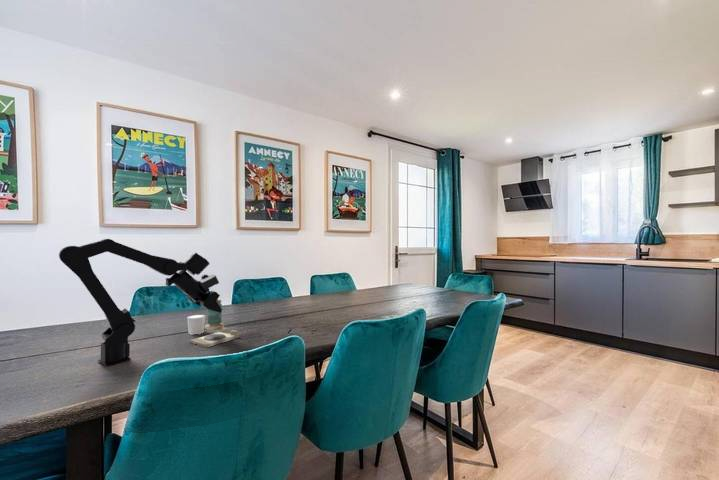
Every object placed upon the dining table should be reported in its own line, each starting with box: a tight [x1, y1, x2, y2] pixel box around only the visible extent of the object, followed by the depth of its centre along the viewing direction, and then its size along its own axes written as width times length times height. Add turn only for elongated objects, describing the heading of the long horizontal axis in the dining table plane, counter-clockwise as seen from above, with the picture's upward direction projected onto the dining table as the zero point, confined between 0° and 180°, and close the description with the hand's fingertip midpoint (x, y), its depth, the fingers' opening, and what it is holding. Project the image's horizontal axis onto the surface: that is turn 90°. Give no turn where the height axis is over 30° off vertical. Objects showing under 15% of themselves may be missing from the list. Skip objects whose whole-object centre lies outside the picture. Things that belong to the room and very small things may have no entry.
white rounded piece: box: [186, 314, 206, 336], centre depth 132 cm, size 7×7×7 cm
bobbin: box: [204, 298, 225, 331], centre depth 123 cm, size 7×7×12 cm
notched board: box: [189, 327, 239, 348], centre depth 123 cm, size 14×10×2 cm
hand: (218, 310), depth 124 cm, fingers closed on bobbin, 5 cm apart
